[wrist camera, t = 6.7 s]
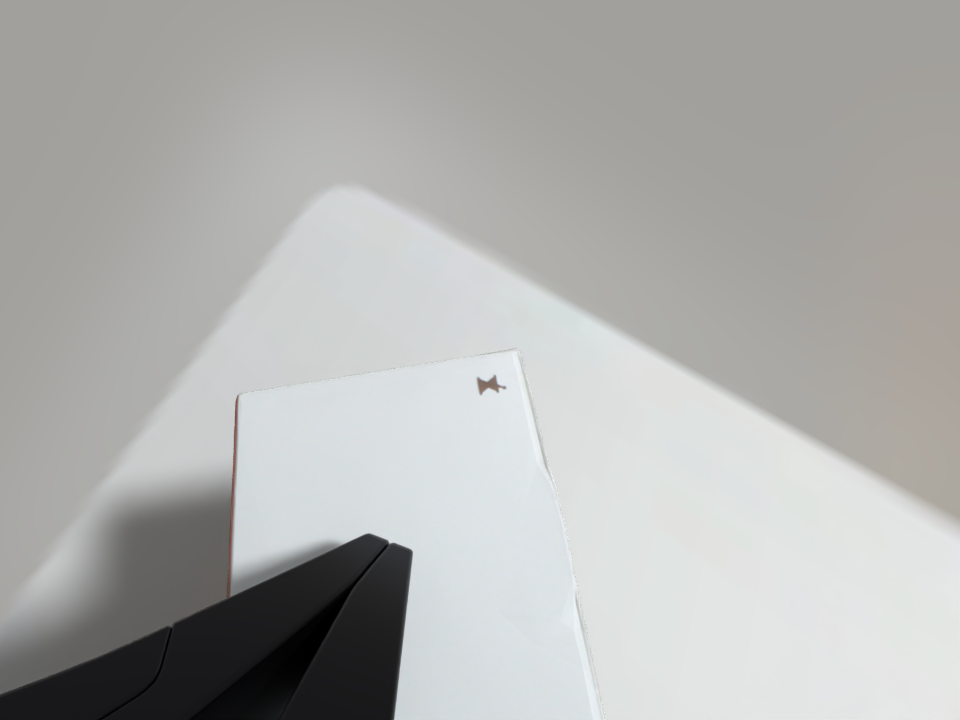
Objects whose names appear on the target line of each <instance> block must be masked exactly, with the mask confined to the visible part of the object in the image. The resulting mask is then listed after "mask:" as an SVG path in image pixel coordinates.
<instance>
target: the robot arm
mask: <svg viewBox="0 0 960 720" xmlns="http://www.w3.org/2000/svg"><path fill="white" fill-rule="evenodd" d="M412 559H413V551H412V550H411V549H410V548H407V547H405V546H402V545H399V544H397V543H389V541H388V540H387V539H384V538H382V537H379V536H376V535H374V534H371V533H367V534H364V535H362V536H360V537H357V538H355V539H353V540H351V541H349V542H347V543H345V544H342V545H340V546H338V547H336V548H334V549H332V550H330V551H327V552H325V553H323V554H321V555H319V556H317V557H314V558H312V559H310V560H308V561H306V562H304V563H302V564H299V565H297V566H295V567H293V568H291V569H289V570H287V571H284V572H282V573H280V574H278V575H276V576H274V577H272V578H269V579H267V580H265V581H263V582H261V583H259V584H257V585H254V586H252V587H250V588H248V589H246V590H244V591H241V592H239V593H237V594H235V595H233V596H231V597H229V598H226V599H224V600H222V601H220V602H218V603H216V604H214V605H211V606H209V607H207V608H205V609H203V610H201V611H199V612H196V613H194V614H192V615H190V616H188V617H186V618H183V619H181V620H179V621H177V622H175V623H174V624H173V626H172V628H171V626H166V627H164V628H162V629H159V630H157V631H155V632H153V633H151V634H149V635H147V636H144V637H142V638H140V639H138V640H135V641H133V642H131V643H129V644H126V645H124V646H122V647H120V648H117V649H115V650H113V651H110V652H108V653H106V654H104V655H101V656H99V657H97V658H94V659H92V660H89V661H87V662H84V663H81V664H79V665H76V666H74V667H71V668H69V669H66V670H64V671H61V672H59V673H56V674H54V675H51V676H49V677H46V678H43V679H41V680H38V681H35V682H33V683H30V684H27V685H25V686H22V687H19V688H17V689H14V690H11V691H9V692H6V693H3V694H1V695H0V720H394V718H395V710H396V701H397V692H398V683H399V674H400V665H401V656H402V648H403V639H404V630H405V621H406V612H407V603H408V595H409V586H410V577H411V568H412Z"/></svg>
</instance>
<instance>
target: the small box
mask: <svg viewBox="0 0 960 720" xmlns="http://www.w3.org/2000/svg"><path fill="white" fill-rule="evenodd" d="M367 533H371V534H374V535H376V536H379V537H382V538H384V539H387V540H388V541H389V543H397V544H399V545H402V546H405V547H407V548H410V549H411V550H412V551H413V559H412V568H411V577H410V586H409V595H408V603H407V612H406V621H405V630H404V639H403V648H402V656H401V665H400V674H399V683H398V692H397V701H396V710H395V718H394V720H606V718H605V713H604V708H603V703H602V698H601V694H600V689H599V684H598V680H597V675H596V670H595V666H594V661H593V657H592V653H591V648H590V644H589V639H588V634H587V629H586V624H585V619H584V615H583V610H582V605H581V600H580V596H579V591H578V586H577V582H576V577H575V572H574V568H573V562H572V556H571V551H570V545H569V540H568V535H567V530H566V525H565V522H564V518H563V514H562V510H561V506H560V502H559V496H558V491H557V487H556V484H555V480H554V477H553V475H552V472H551V469H550V465H549V462H548V459H547V455H546V452H545V448H544V444H543V439H542V435H541V431H540V427H539V423H538V419H537V414H536V410H535V406H534V401H533V397H532V393H531V389H530V385H529V381H528V377H527V373H526V369H525V365H524V360H523V356H522V353H521V351H520V350H519V349H517V348H514V349H509V350H504V351H499V352H493V353H488V354H482V355H477V356H471V357H464V358H457V359H450V360H444V361H437V362H431V363H425V364H419V365H412V366H406V367H400V368H393V369H387V370H381V371H375V372H368V373H363V374H357V375H350V376H344V377H339V378H333V379H326V380H320V381H314V382H307V383H301V384H295V385H289V386H283V387H277V388H272V389H266V390H259V391H252V392H245V393H240V394H239V395H238V396H237V399H236V406H235V429H234V456H233V479H232V499H231V521H230V543H229V575H228V588H227V598H229V597H231V596H233V595H235V594H237V593H239V592H241V591H244V590H246V589H248V588H250V587H252V586H254V585H257V584H259V583H261V582H263V581H265V580H267V579H269V578H272V577H274V576H276V575H278V574H280V573H282V572H284V571H287V570H289V569H291V568H293V567H295V566H297V565H299V564H302V563H304V562H306V561H308V560H310V559H312V558H314V557H317V556H319V555H321V554H323V553H325V552H327V551H330V550H332V549H334V548H336V547H338V546H340V545H342V544H345V543H347V542H349V541H351V540H353V539H355V538H357V537H360V536H362V535H364V534H367Z"/></svg>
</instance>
